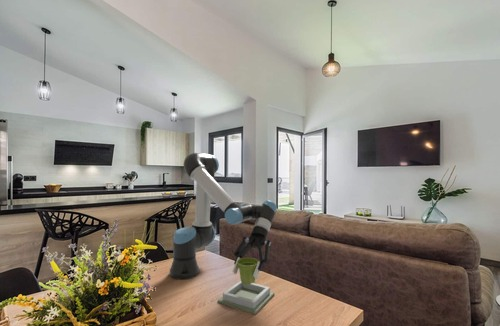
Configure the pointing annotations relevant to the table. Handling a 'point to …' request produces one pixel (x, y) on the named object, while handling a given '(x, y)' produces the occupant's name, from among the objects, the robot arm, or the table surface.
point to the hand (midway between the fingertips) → (244, 275)
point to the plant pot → (247, 269)
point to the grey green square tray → (247, 297)
